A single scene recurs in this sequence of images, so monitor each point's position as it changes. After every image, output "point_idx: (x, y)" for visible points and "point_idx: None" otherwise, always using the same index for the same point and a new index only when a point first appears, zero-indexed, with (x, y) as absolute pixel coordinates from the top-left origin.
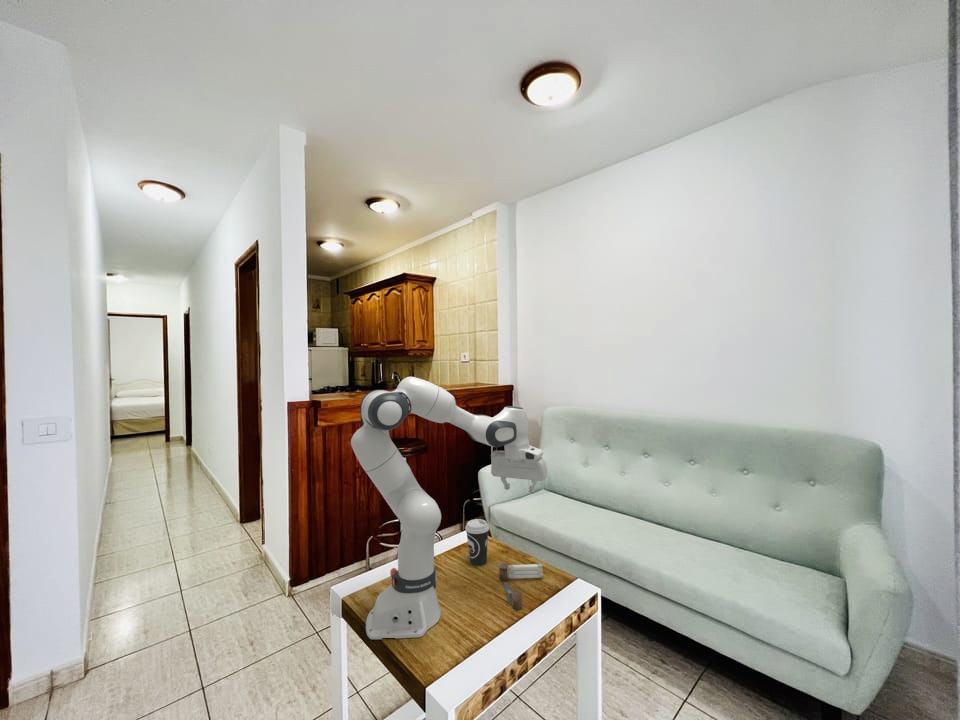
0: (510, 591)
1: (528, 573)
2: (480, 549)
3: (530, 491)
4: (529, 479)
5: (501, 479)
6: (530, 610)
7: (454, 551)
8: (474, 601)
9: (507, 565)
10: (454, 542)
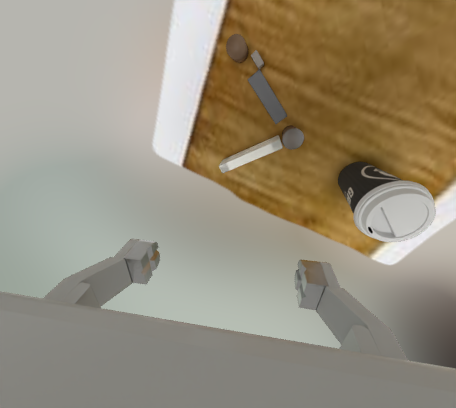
0: (255, 60)
1: (244, 152)
2: (360, 175)
3: (145, 241)
4: (69, 305)
5: (385, 332)
6: (215, 55)
7: None
8: (333, 28)
9: (283, 143)
10: None
